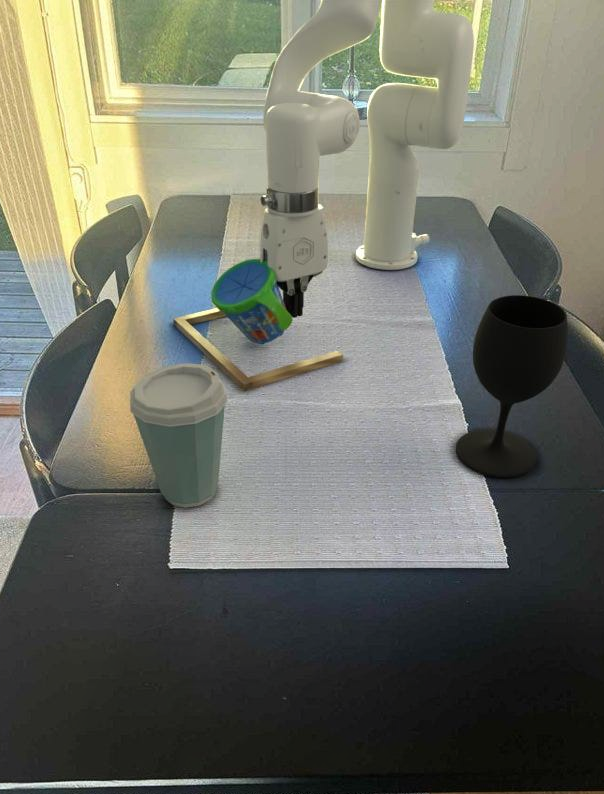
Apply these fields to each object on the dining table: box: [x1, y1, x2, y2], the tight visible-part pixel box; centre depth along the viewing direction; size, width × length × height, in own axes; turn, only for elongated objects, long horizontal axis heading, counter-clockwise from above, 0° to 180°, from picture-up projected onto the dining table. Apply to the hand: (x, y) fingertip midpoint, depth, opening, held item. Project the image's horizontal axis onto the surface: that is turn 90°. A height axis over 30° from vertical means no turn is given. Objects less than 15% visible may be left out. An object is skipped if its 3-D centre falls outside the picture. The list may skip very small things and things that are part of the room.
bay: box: [172, 307, 344, 392], centre depth 114 cm, size 18×25×1 cm
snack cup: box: [210, 258, 293, 345], centre depth 110 cm, size 16×10×10 cm
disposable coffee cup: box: [129, 362, 229, 509], centre depth 80 cm, size 11×11×15 cm
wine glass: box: [454, 294, 569, 479], centre depth 85 cm, size 10×10×20 cm
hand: (293, 313), depth 115 cm, fingers closed
